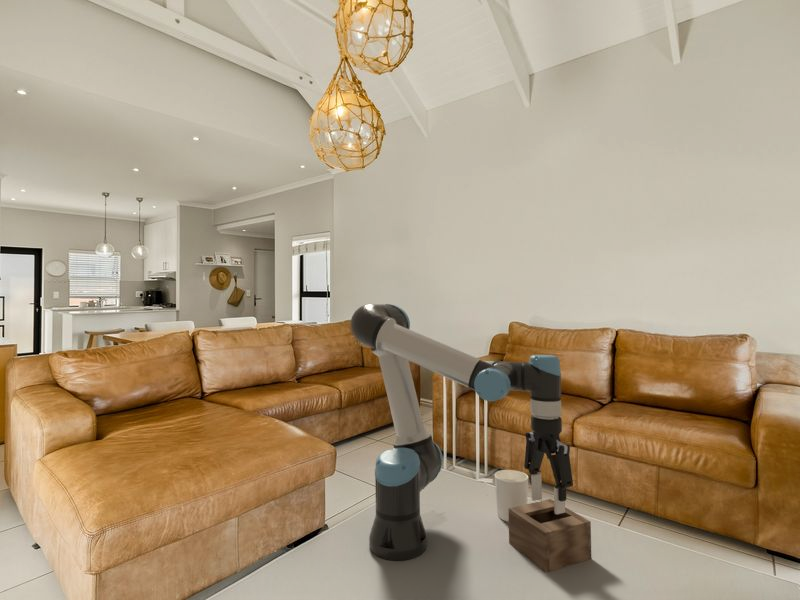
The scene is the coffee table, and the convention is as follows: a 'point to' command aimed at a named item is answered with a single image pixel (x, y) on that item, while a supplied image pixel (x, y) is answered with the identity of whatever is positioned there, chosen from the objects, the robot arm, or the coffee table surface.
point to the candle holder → (510, 491)
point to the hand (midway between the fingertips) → (547, 505)
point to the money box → (549, 535)
